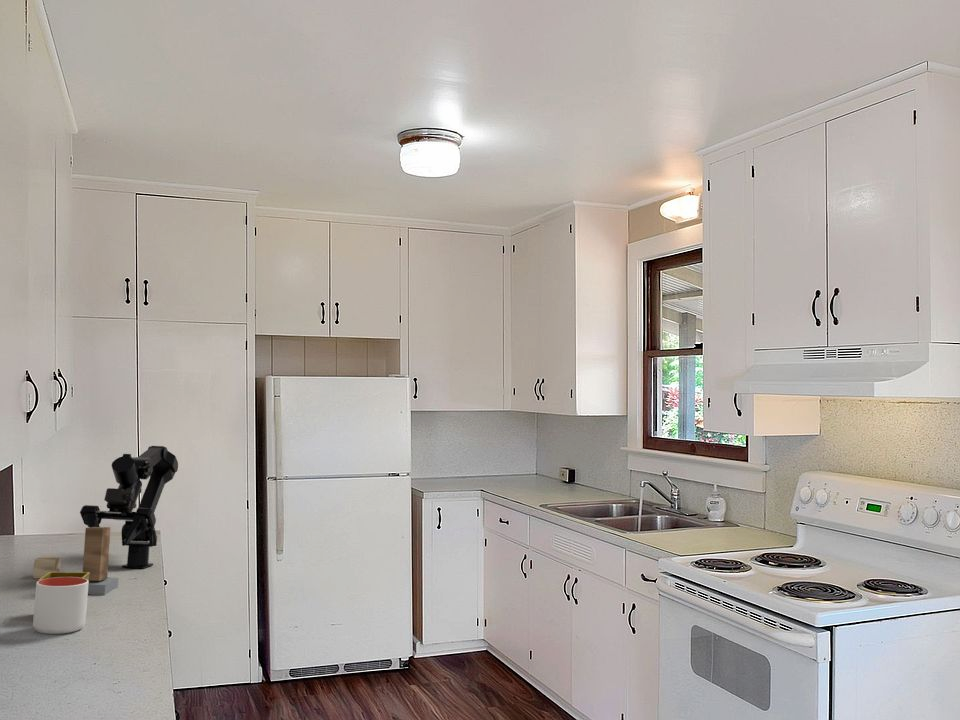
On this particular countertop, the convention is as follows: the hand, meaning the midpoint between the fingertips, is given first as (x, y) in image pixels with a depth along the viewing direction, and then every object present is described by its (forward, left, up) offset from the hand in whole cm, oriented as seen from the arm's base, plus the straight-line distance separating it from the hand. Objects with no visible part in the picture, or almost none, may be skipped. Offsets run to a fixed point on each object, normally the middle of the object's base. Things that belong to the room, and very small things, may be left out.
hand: (108, 542), depth 228 cm
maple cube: (-3, -19, -11) cm, 22 cm away
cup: (+43, +15, -11) cm, 47 cm away
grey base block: (+8, +1, -11) cm, 14 cm away
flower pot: (+33, +9, -11) cm, 36 cm away
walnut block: (+8, +2, -8) cm, 12 cm away
